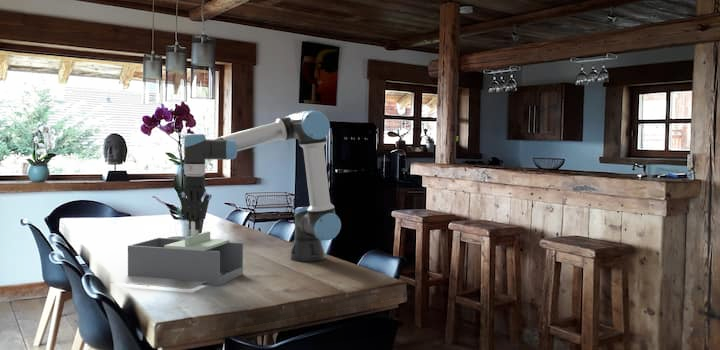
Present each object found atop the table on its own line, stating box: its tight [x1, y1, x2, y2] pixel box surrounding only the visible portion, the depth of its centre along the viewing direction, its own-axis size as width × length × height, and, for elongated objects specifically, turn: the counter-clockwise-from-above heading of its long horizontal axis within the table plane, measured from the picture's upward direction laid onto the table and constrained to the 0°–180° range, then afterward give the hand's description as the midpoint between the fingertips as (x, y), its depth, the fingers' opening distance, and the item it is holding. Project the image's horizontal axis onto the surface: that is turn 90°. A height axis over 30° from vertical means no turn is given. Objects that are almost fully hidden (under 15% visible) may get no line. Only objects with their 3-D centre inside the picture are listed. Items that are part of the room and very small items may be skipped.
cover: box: [164, 231, 231, 251], centre depth 220 cm, size 16×20×4 cm
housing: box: [127, 237, 244, 287], centre depth 221 cm, size 37×20×12 cm, turn 76°
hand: (194, 238), depth 220 cm, fingers closed
